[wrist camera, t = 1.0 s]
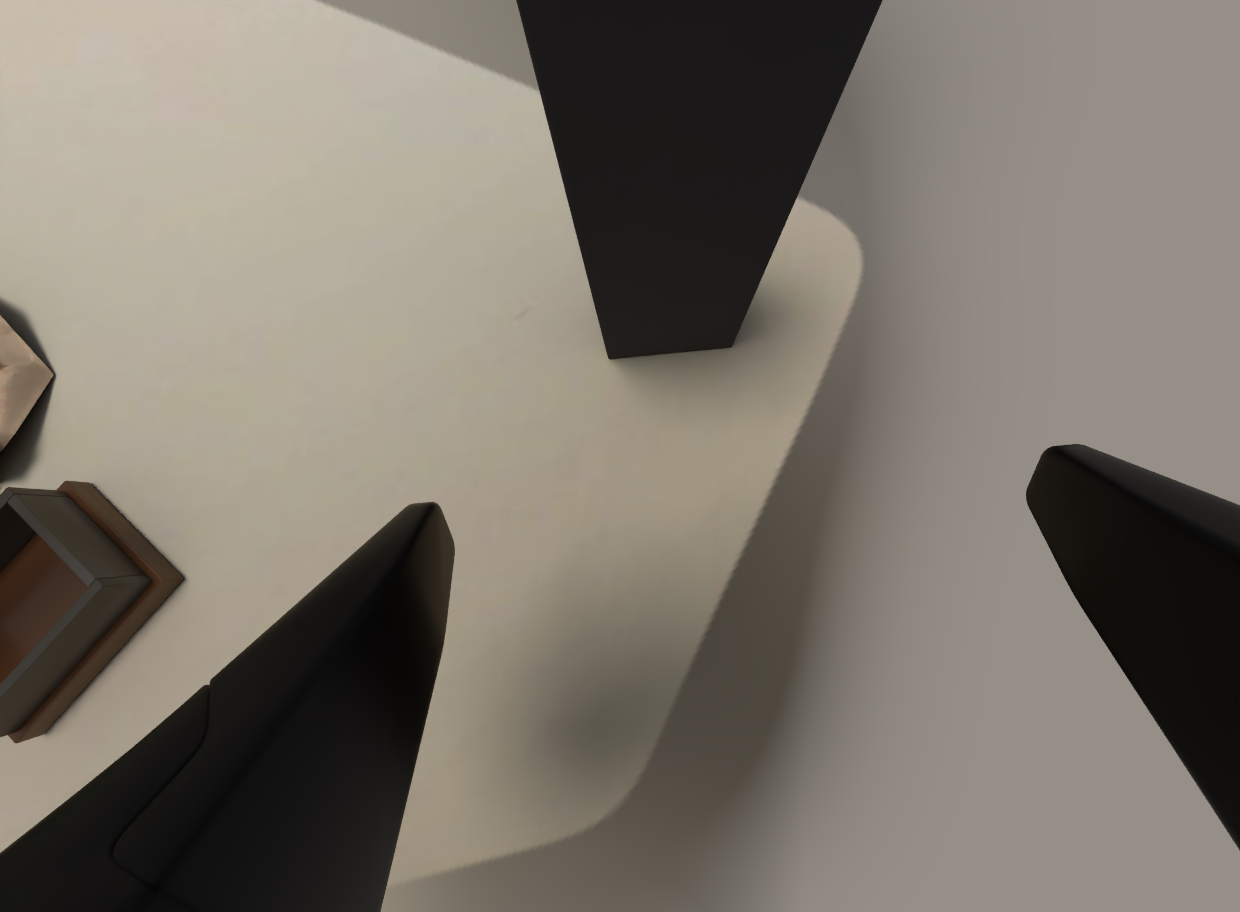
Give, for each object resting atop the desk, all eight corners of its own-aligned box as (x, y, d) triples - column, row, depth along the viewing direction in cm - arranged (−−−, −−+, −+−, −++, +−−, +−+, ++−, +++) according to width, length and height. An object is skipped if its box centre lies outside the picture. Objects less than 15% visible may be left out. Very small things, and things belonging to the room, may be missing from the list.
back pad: (732, 347, 23) (920, -81, 7) (608, 359, 23) (508, -29, 7) (724, 277, 23) (884, -285, 7) (602, 289, 23) (495, -229, 7)
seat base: (185, 578, 23) (114, 585, 20) (43, 735, 22) (-52, 767, 19) (89, 482, 23) (7, 475, 20) (-50, 631, 23) (-155, 646, 20)
